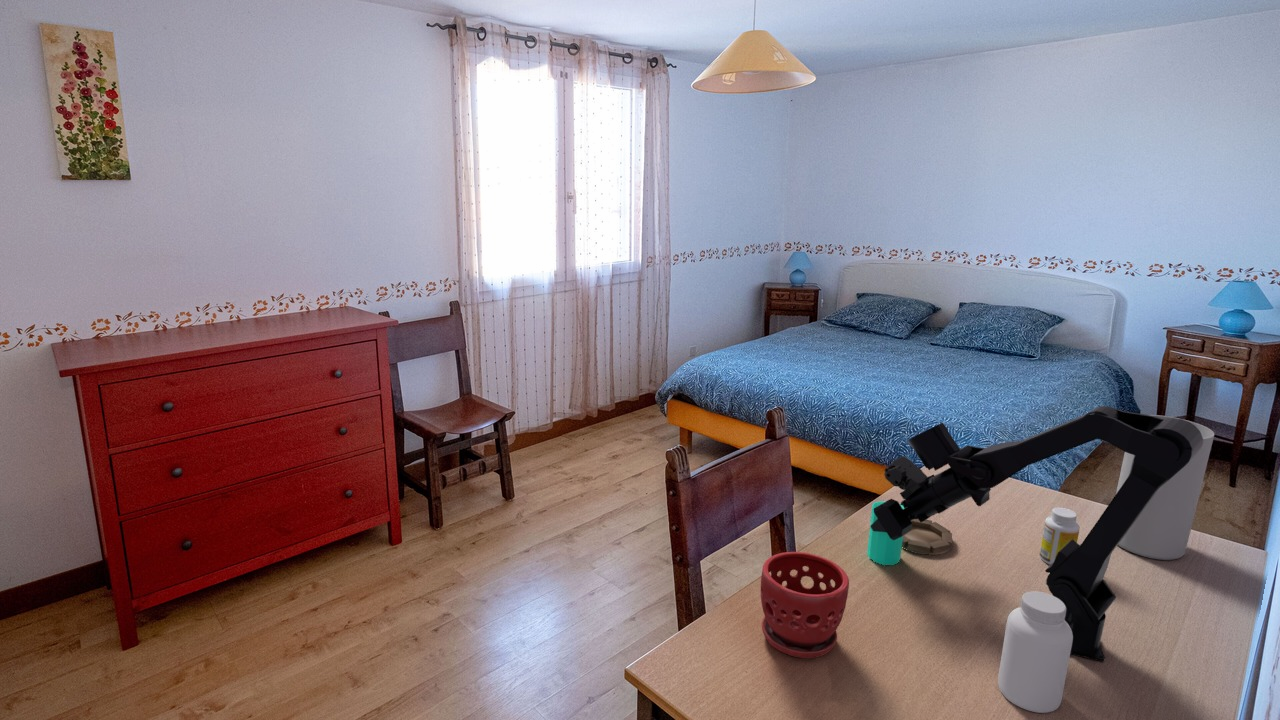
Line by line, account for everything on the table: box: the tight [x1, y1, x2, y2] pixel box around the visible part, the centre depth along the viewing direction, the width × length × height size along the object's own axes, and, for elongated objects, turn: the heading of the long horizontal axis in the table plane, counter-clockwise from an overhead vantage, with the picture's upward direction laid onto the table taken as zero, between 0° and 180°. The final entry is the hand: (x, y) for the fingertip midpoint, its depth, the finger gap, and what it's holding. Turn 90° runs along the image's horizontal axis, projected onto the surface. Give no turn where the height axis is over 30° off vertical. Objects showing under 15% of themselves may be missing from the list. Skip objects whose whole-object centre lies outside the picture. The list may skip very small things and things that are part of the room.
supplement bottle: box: [1039, 507, 1081, 566], centre depth 130 cm, size 6×6×10 cm
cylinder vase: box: [1115, 414, 1215, 561], centre depth 134 cm, size 12×12×25 cm
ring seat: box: [902, 519, 953, 556], centre depth 139 cm, size 12×12×2 cm
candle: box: [866, 500, 904, 566], centre depth 131 cm, size 6×6×12 cm
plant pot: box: [760, 551, 850, 659], centre depth 108 cm, size 13×13×12 cm
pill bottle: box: [997, 590, 1073, 714], centre depth 96 cm, size 8×8×15 cm
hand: (880, 523), depth 132 cm, fingers closed on candle, 5 cm apart
